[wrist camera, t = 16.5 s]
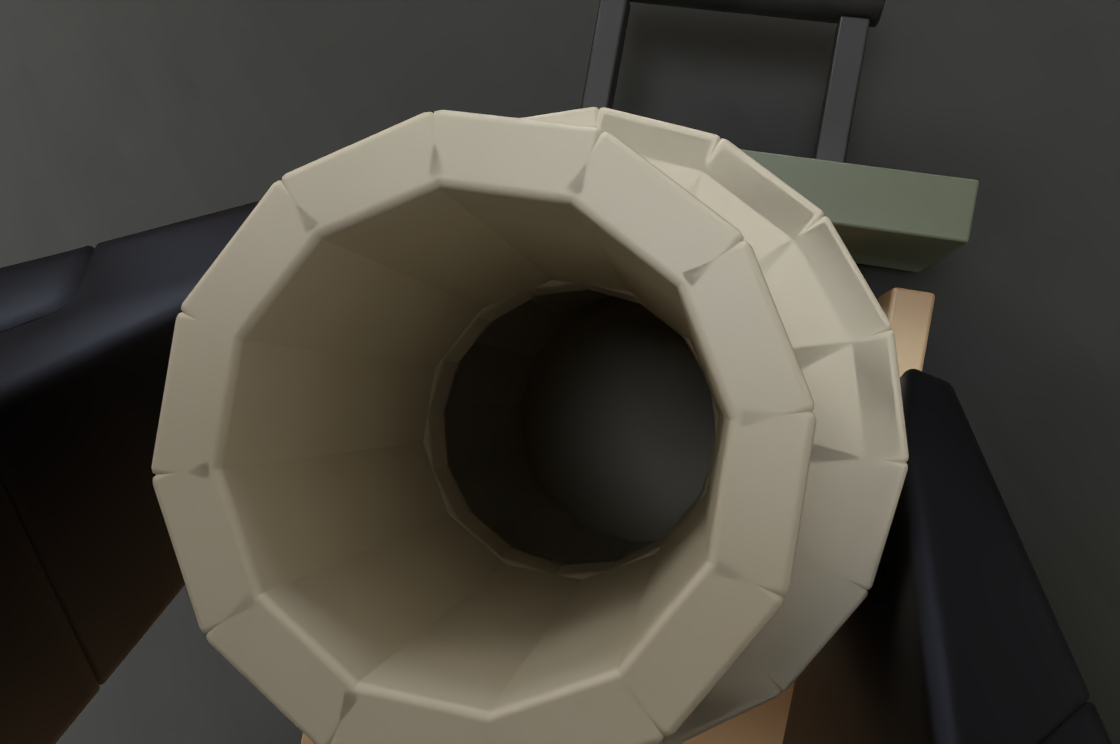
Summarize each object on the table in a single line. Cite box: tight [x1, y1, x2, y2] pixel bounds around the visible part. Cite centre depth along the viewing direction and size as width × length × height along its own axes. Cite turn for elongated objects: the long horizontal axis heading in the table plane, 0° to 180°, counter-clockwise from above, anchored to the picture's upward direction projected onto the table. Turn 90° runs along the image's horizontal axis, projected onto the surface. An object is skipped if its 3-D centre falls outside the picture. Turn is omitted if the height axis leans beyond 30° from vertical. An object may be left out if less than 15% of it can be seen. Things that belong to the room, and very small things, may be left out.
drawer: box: [581, 0, 979, 377], centre depth 20 cm, size 17×10×4 cm, turn 170°
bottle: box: [151, 107, 909, 744], centre depth 10 cm, size 5×5×12 cm
